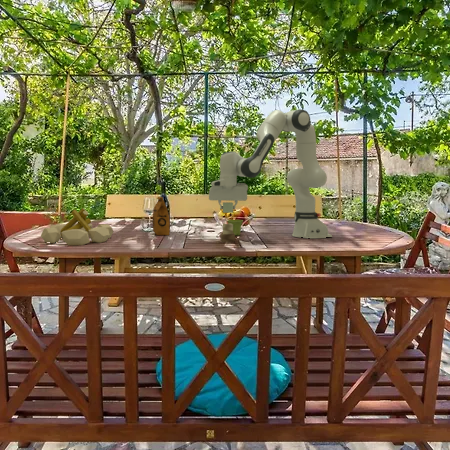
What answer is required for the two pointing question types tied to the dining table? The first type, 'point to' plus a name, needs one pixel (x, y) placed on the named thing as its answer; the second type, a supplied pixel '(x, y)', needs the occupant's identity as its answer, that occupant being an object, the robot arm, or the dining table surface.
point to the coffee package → (161, 218)
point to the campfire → (77, 231)
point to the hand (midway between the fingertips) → (227, 209)
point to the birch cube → (227, 228)
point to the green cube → (227, 207)
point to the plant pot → (236, 226)
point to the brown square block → (227, 237)
